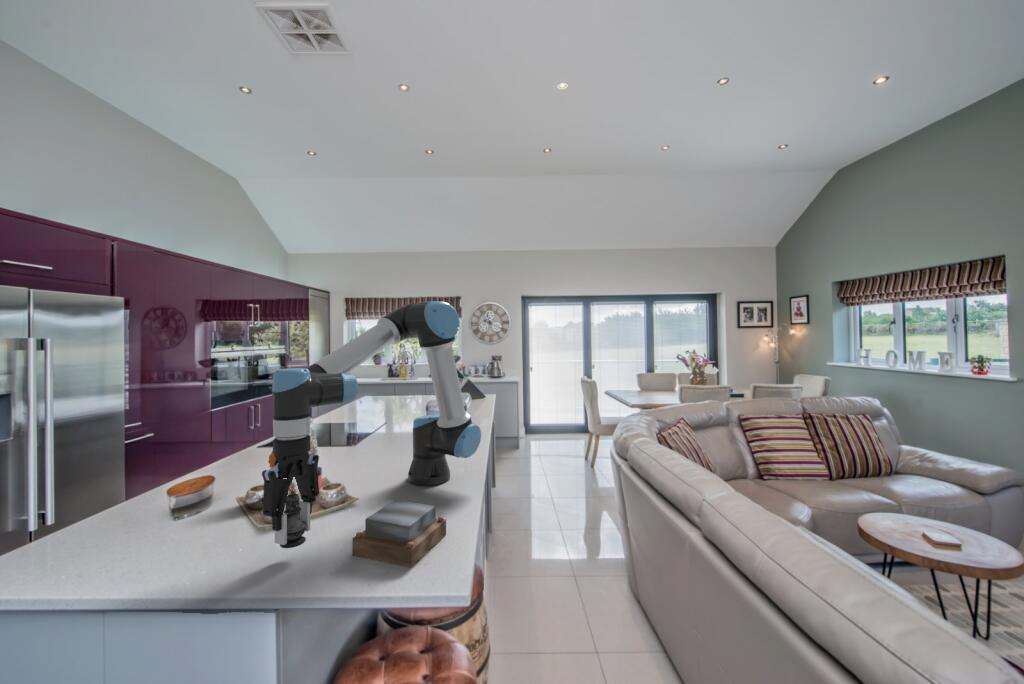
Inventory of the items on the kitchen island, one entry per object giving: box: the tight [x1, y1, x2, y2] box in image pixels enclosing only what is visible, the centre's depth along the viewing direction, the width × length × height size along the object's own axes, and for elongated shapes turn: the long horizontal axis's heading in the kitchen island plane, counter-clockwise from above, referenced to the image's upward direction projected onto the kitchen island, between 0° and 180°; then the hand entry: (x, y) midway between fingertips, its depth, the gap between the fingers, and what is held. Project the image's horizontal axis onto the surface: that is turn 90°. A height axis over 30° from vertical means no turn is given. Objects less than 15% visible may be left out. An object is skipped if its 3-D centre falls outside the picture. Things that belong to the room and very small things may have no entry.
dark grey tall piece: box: [279, 490, 307, 549], centre depth 92 cm, size 6×6×12 cm
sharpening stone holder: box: [351, 499, 447, 569], centre depth 98 cm, size 16×16×8 cm
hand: (293, 536), depth 92 cm, fingers closed on dark grey tall piece, 6 cm apart
